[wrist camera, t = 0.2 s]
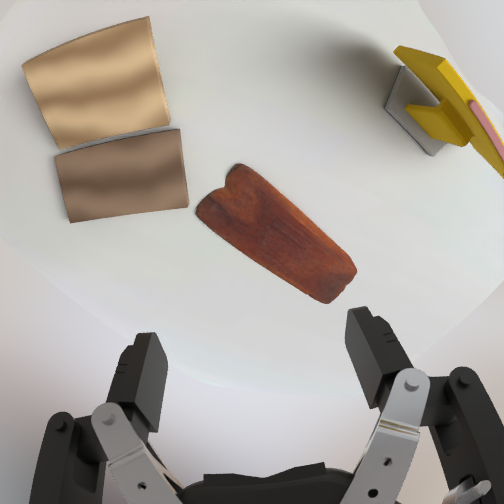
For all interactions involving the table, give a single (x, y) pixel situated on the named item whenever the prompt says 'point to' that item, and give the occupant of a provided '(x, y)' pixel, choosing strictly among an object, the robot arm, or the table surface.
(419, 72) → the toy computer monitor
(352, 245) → the table surface
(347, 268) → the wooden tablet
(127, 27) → the light wood board
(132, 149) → the walnut board
